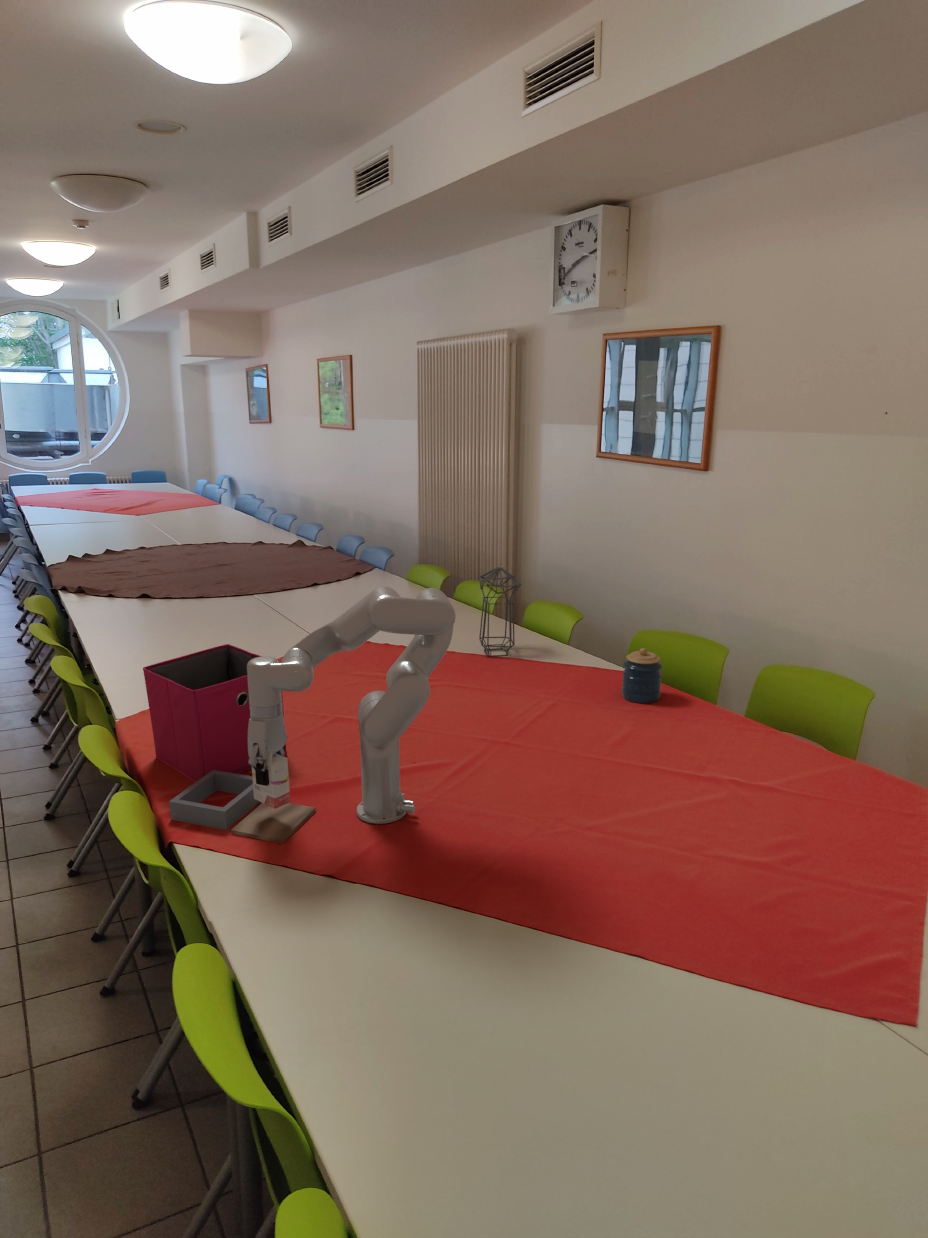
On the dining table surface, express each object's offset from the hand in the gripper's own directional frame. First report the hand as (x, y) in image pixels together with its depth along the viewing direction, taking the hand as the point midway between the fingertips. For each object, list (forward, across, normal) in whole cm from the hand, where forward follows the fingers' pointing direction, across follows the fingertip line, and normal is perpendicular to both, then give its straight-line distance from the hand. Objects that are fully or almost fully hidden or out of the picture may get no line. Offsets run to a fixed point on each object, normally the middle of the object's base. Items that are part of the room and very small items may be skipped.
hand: (270, 777), depth 198 cm
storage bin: (+13, -27, -34) cm, 45 cm away
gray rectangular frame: (+12, -2, -17) cm, 21 cm away
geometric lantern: (+12, -144, +15) cm, 145 cm away
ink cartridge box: (+6, 0, 0) cm, 6 cm away
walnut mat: (+12, 0, 0) cm, 12 cm away
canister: (+11, -113, +75) cm, 136 cm away
